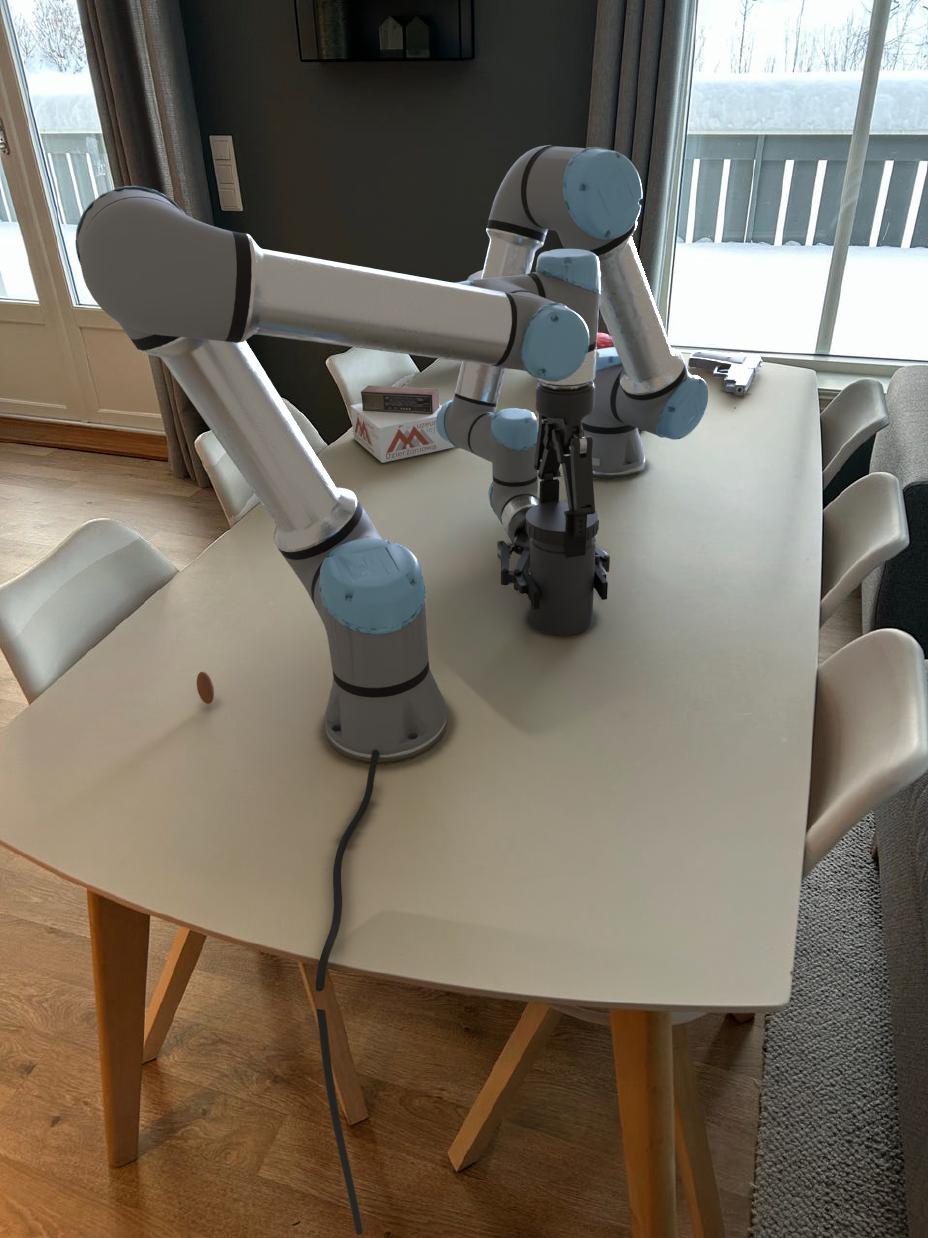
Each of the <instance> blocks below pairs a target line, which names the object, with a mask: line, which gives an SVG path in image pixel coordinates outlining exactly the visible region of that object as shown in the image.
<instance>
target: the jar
mask: <svg viewBox="0 0 928 1238" xmlns="http://www.w3.org/2000/svg"><path fill="white" fill-rule="evenodd" d="M596 542H597V540H596V535H595V536H594V537H593V538H592V539H590V540H588V541H586V552H585V555H583V556H576V557H570V558H566V557H565V545H551V544H546V543H542V542H539V541H536V540H534V539H533V538H531V537H530V569H529V573H530V575H531V577H532V579H533V581H534V583H535V584H536V586H537V588H538V590H539V592H540V594H539V609H534V608H533V606H532V604H531V602H530V601H529V603H530V604H529V621H530V623H531V625H532V626H533V627H534V629H536V630H537V631H539V632H541V633H544V634H547V635H550V636H561V637H563V636H565V637H566V636H574V635H577V634H580V633H583V632H585V631H586V630H588V629H589V628H590V627H591V626H592V623H593V616H594V615H593V614H594V593H595V591H594V590H595V588H594V570H595V546H597V545H596V544H597V543H596Z"/></svg>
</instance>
